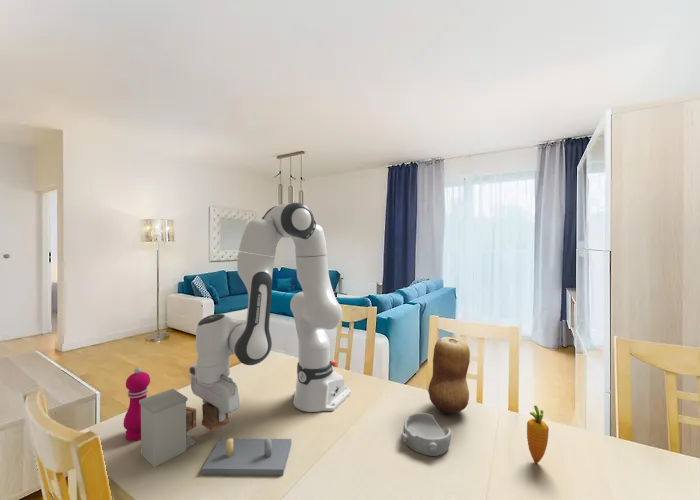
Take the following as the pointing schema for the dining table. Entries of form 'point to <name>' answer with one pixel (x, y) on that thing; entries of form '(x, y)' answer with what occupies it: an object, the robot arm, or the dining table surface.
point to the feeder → (163, 427)
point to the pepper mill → (135, 403)
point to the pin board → (248, 457)
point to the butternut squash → (450, 375)
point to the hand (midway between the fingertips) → (215, 416)
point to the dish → (425, 434)
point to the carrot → (537, 435)
